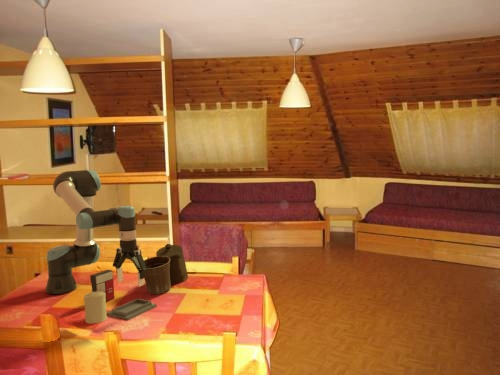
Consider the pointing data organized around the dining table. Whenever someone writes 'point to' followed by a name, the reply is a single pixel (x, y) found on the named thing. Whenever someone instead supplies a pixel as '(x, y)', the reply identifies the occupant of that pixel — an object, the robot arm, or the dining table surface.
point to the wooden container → (174, 262)
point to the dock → (132, 309)
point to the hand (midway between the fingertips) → (130, 283)
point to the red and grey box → (103, 283)
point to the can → (95, 307)
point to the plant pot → (157, 275)
